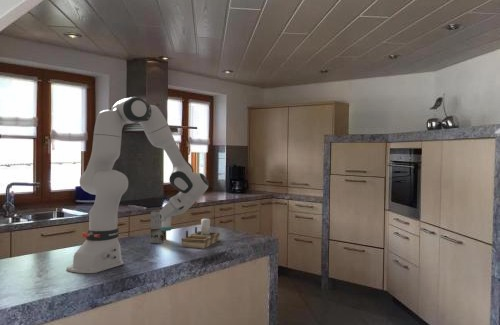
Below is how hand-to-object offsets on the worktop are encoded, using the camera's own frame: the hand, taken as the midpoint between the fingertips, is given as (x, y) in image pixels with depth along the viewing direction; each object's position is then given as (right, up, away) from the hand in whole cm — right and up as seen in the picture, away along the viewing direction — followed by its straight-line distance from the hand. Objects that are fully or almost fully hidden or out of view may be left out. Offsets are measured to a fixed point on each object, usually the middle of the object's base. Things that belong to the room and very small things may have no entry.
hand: (165, 219), depth 196 cm
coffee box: (-6, -13, +12) cm, 19 cm away
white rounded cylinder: (+1, -5, 0) cm, 5 cm away
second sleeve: (+19, -11, +13) cm, 25 cm away
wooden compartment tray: (+17, -13, +8) cm, 23 cm away
